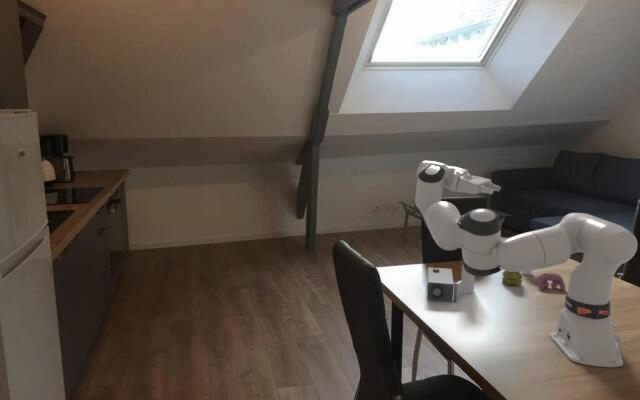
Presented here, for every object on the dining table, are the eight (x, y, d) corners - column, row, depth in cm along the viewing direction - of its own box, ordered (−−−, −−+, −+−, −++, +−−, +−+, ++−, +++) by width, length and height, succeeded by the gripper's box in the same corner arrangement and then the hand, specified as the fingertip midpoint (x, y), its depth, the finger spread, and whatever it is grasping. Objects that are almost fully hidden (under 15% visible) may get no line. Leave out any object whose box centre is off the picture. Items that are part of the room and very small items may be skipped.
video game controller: (562, 291, 194) (560, 273, 195) (566, 290, 189) (565, 272, 191) (536, 290, 195) (534, 272, 196) (540, 289, 190) (538, 271, 192)
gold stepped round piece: (525, 286, 195) (528, 262, 193) (509, 288, 193) (511, 264, 191) (513, 279, 202) (515, 256, 200) (498, 281, 200) (499, 258, 198)
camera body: (452, 304, 179) (454, 283, 177) (427, 301, 181) (428, 281, 179) (450, 285, 196) (451, 267, 194) (427, 283, 197) (428, 265, 196)
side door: (455, 302, 179) (458, 253, 175) (452, 301, 180) (455, 252, 176) (474, 290, 191) (477, 243, 187) (471, 289, 191) (474, 243, 187)
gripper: (466, 185, 194) (501, 195, 187) (448, 191, 177) (486, 202, 170) (470, 170, 193) (505, 179, 186) (453, 174, 176) (491, 184, 169)
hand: (496, 190), depth 178 cm, fingers open, 8 cm apart
